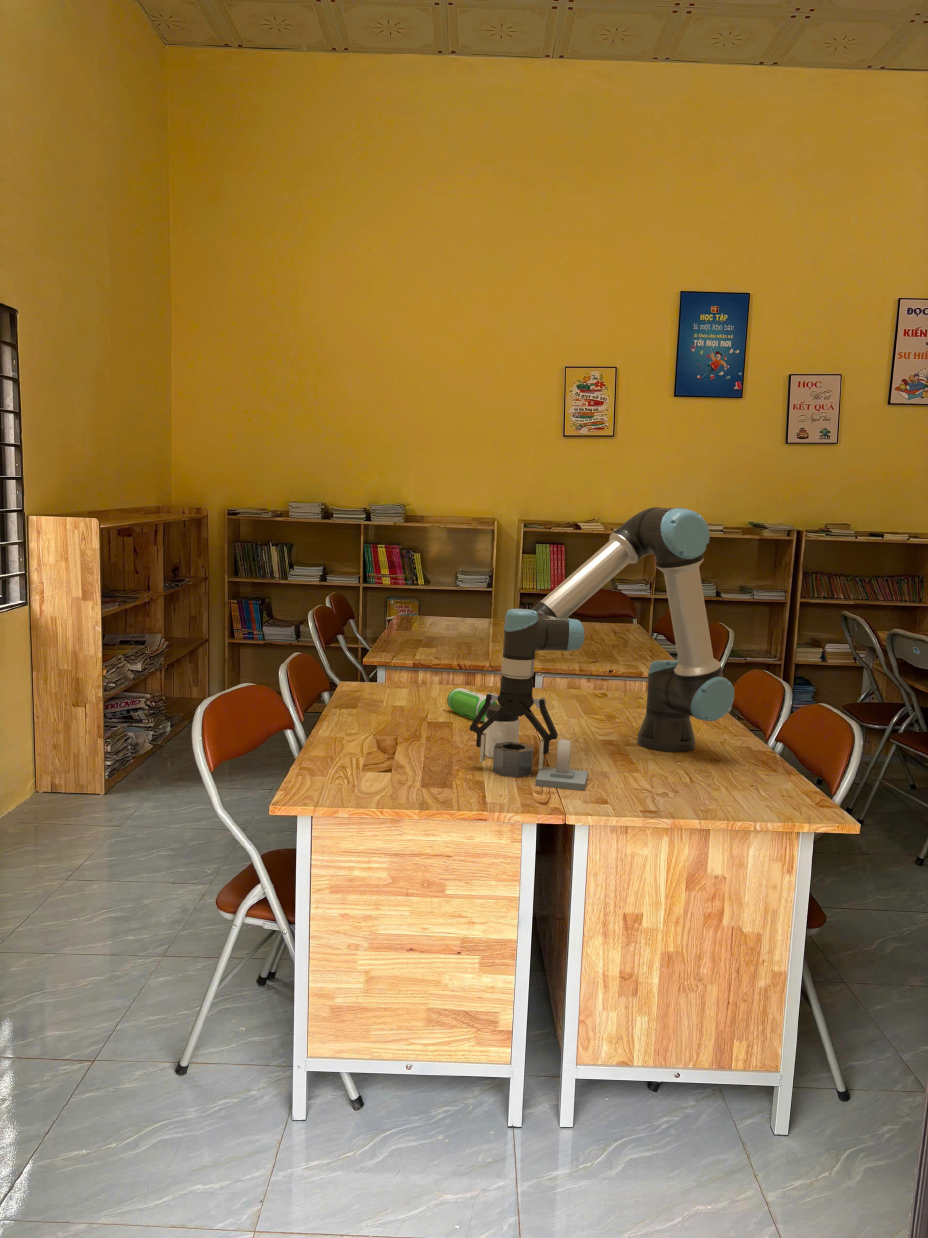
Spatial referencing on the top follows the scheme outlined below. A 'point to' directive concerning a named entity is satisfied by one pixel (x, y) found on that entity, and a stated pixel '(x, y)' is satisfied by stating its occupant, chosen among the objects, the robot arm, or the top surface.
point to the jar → (500, 729)
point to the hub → (513, 759)
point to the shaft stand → (562, 771)
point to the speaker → (467, 703)
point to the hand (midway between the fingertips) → (511, 765)
